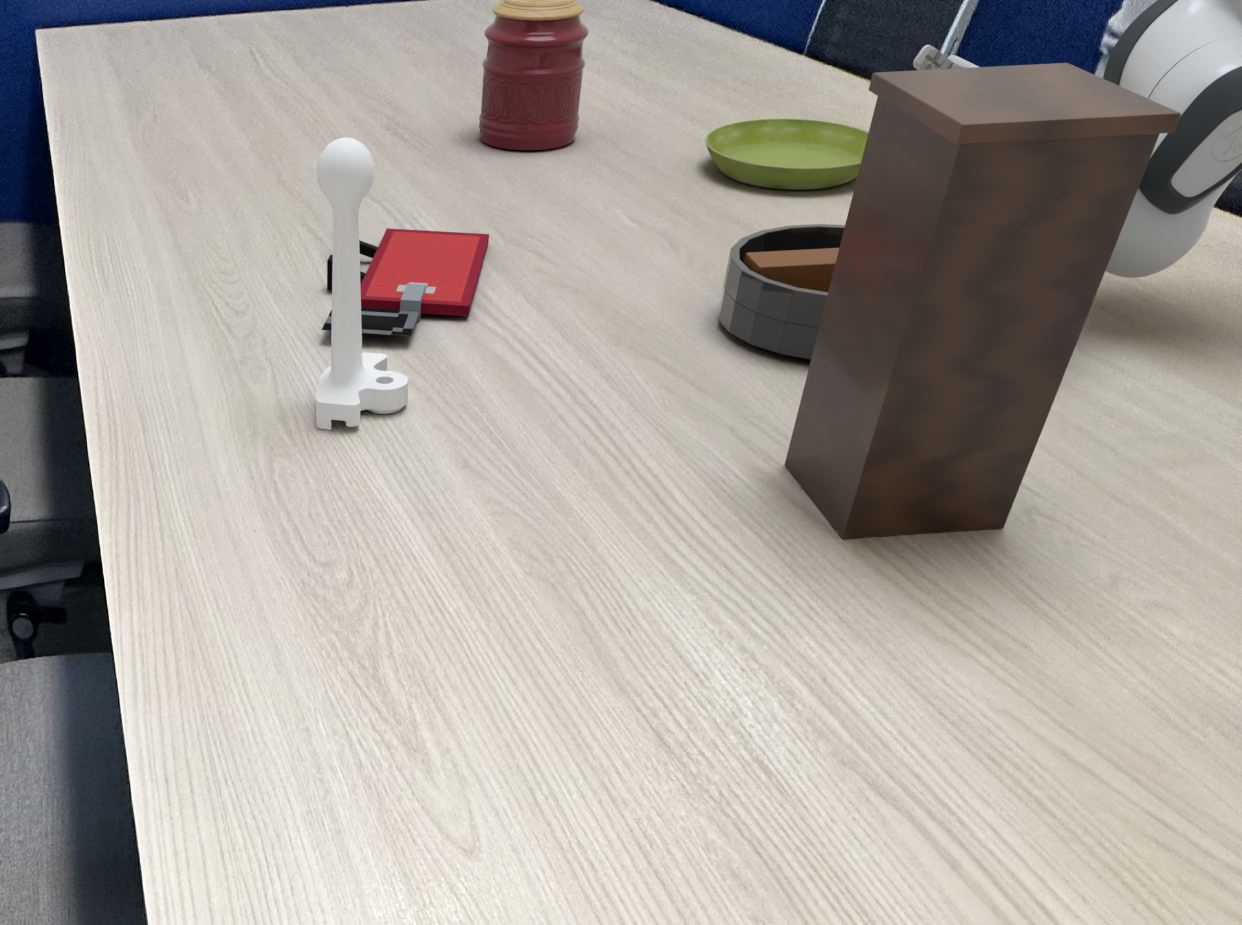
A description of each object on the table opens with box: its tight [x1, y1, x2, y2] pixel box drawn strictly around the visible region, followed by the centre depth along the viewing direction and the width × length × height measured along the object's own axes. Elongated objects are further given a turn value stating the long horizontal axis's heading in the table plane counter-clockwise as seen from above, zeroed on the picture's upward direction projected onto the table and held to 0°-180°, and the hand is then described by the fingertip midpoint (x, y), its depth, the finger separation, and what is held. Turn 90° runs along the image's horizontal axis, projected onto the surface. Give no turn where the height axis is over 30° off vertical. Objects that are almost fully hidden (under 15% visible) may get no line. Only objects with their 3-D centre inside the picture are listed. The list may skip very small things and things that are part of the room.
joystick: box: [315, 137, 409, 431], centre depth 102 cm, size 11×8×20 cm
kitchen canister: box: [478, 0, 590, 151], centre depth 160 cm, size 13×13×18 cm
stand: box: [784, 62, 1181, 540], centre depth 86 cm, size 13×13×26 cm
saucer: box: [705, 118, 869, 191], centre depth 152 cm, size 21×21×3 cm
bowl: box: [718, 223, 845, 360], centre depth 117 cm, size 20×20×6 cm
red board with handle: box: [321, 227, 490, 337], centre depth 127 cm, size 30×3×15 cm
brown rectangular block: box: [744, 248, 839, 292], centre depth 115 cm, size 17×4×3 cm, turn 94°
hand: (946, 67), depth 104 cm, fingers open, 8 cm apart
